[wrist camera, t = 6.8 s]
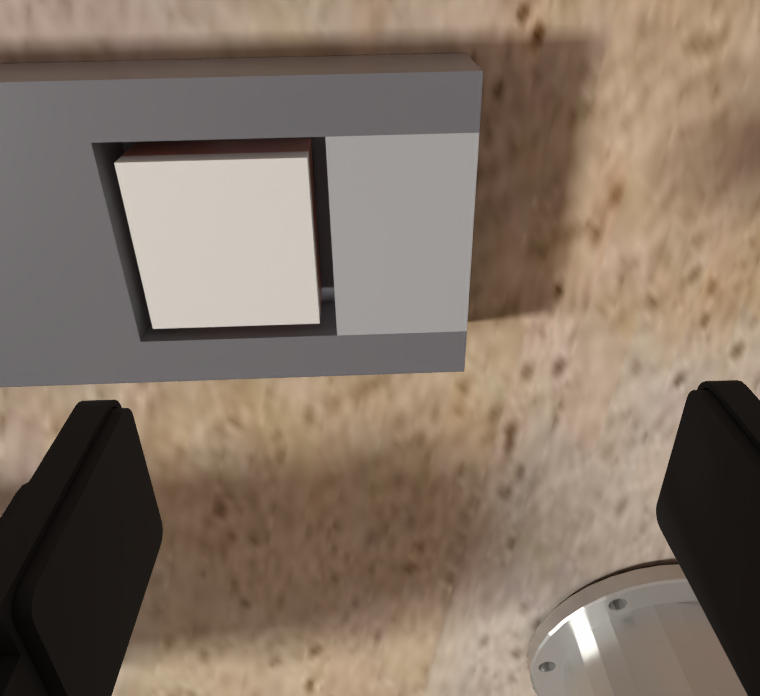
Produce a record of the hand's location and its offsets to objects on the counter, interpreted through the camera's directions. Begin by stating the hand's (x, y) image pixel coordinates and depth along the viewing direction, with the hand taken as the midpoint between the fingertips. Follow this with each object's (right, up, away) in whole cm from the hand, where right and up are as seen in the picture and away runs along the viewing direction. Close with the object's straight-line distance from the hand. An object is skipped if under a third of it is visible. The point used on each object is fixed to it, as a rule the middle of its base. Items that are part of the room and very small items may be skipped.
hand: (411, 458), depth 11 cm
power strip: (-13, +6, +10) cm, 17 cm away
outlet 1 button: (-5, +6, +9) cm, 12 cm away
